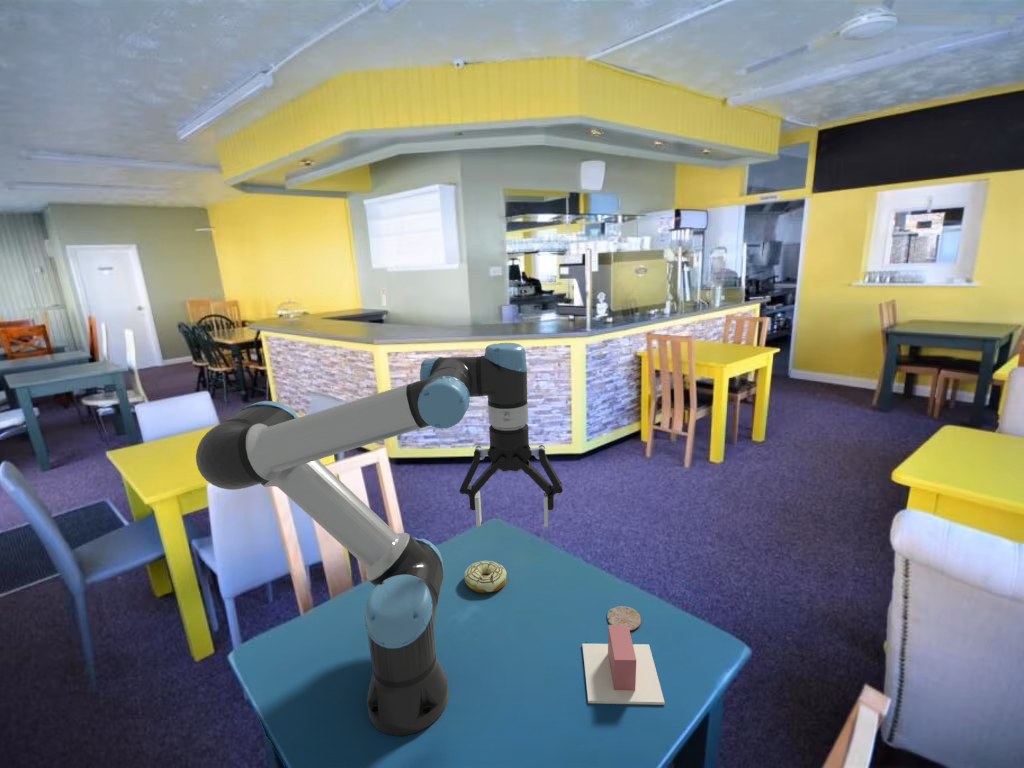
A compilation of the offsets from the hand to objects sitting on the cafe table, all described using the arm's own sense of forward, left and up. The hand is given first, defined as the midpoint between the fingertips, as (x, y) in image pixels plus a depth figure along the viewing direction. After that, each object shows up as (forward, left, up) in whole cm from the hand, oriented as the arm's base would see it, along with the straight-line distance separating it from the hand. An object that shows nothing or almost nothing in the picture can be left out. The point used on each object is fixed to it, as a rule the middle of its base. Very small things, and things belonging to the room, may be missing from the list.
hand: (512, 523), depth 102 cm
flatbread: (+24, +7, -29) cm, 38 cm away
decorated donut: (-9, +20, -29) cm, 36 cm away
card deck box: (+21, -8, -28) cm, 36 cm away
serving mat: (+21, -8, -29) cm, 36 cm away
